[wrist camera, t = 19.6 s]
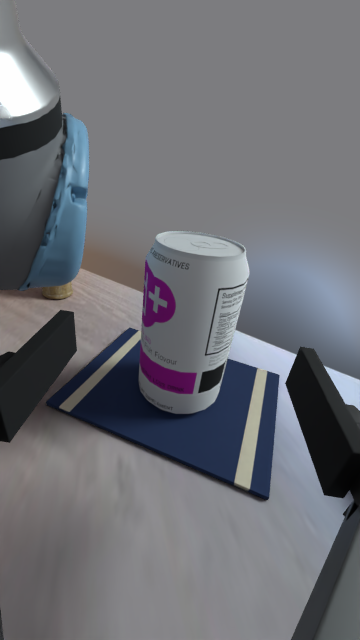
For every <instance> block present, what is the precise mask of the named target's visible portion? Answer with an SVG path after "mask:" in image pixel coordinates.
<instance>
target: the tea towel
mask: <svg viewBox="0 0 360 640" xmlns="http://www.w3.org/2000/svg"><path fill="white" fill-rule="evenodd" d="M140 347H141V331H138V330H135V329H132V328H129V329H128V330H126V331H125V332H124V333H123V334H122V335H121V336H120V337H119V338H117V339H116V340H115V341H114V342H113V343H112V344H111V345H110V346H108V347H107V348H106V349H105V350H104V351H103V352H102V353H101V354H99V355H98V356H97V357H96V358H95V359H94V360H93V361H92V362H90V363H89V364H88V365H87V366H86V367H85V368H84V369H83V370H81V371H80V372H79V373H78V374H77V375H76V376H75V377H73V378H72V379H71V380H70V381H69V382H68V383H67V384H66V385H64V386H63V387H62V388H61V389H60V390H59V391H58V392H57V393H55V394H54V395H53V396H52V397H51V398H50V399H49V400H48V401H46V404H47V405H48V406H51V407H53V408H55V409H58V410H60V411H62V412H65V413H67V414H69V415H71V416H74V417H76V418H78V419H81V420H83V421H85V422H88V423H90V424H92V425H95V426H97V427H99V428H102V429H104V430H106V431H108V432H111V433H113V434H115V435H118V436H120V437H122V438H125V439H127V440H129V441H132V442H134V443H136V444H138V445H141V446H143V447H145V448H148V449H150V450H152V451H155V452H157V453H159V454H162V455H164V456H166V457H168V458H171V459H173V460H175V461H178V462H180V463H182V464H185V465H187V466H189V467H192V468H194V469H196V470H199V471H201V472H203V473H205V474H208V475H210V476H212V477H215V478H217V479H219V480H222V481H224V482H226V483H229V484H231V485H233V486H235V487H238V488H240V489H242V490H245V491H247V492H249V493H252V494H254V495H256V496H259V497H261V498H263V499H265V500H268V499H269V492H270V480H271V468H272V457H273V445H274V433H275V421H276V409H277V397H278V385H279V375H278V374H275V373H272V372H268V371H266V370H262V369H259V368H256V367H253V366H249V365H246V364H243V363H240V362H237V361H233V360H230V359H227V363H226V367H225V371H224V375H223V379H222V382H221V386H220V390H219V393H218V396H217V398H216V400H215V402H214V403H212V404H211V405H210V406H209V407H207V408H206V409H205V410H201V411H198V412H195V413H191V414H175V413H171V412H168V411H164V410H162V409H159V408H158V407H156V406H155V405H153V404H152V403H150V402H149V401H148V400H147V399H146V398H145V396H144V395H143V394H142V392H141V391H140V386H139V381H138V380H139V364H140Z"/></svg>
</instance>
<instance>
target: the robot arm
mask: <svg viewBox="0 0 360 640" xmlns="http://www.w3.org/2000/svg"><path fill="white" fill-rule="evenodd" d="M88 180H89V141H88V134H87V129H86V127H85V125H84V124H83V123H82V121H80V120H78V119H75V118H74V117H73V116H72V115H71V114H68V113H63V115H62V113H61V101H60V89H59V83H58V80H57V78H56V76H55V74H54V72H53V71H52V70H51V69H50V67H49V66H48V65H47V64H46V63H45V61H44V60H43V59H42V58H41V57H40V55H39V54H38V53H37V52H36V50H35V49H34V48H33V47H32V46H31V45H30V43H29V42H28V41H27V40H26V38H25V37H24V36H23V34H22V31H21V28H20V26H19V20H18V14H17V8H16V2H15V0H0V290H19V291H24V290H27V289H29V288H37V287H51V286H61V285H65V284H67V283H69V282H71V281H72V280H73V279H74V278H75V277H76V275H77V274H78V272H79V269H80V265H81V261H82V256H83V248H84V241H85V231H86V220H87V202H86V197H87V192H88V188H87V187H88ZM76 351H77V347H76V335H75V323H74V312H70V311H64V310H60V311H59V312H58V313H57V314H56V315H55V316H54V317H53V318H52V319H51V320H50V321H49V322H48V323H47V324H45V325H44V326H43V327H42V328H41V329H40V330H39V331H38V332H37V333H36V334H35V335H34V336H33V337H32V338H31V339H30V340H29V341H28V342H27V343H25V344H24V345H23V346H22V347H21V348H20V349H19V350H18V351H17V352H16V353H14V352H7V353H5V354H3V355H1V356H0V441H3V442H9V443H10V441H11V440H12V438H13V437H14V436H15V434H16V433H17V432H18V430H19V429H20V427H21V426H22V425H23V423H24V422H25V421H26V419H27V418H28V417H29V415H30V414H31V412H32V411H33V410H34V408H35V407H36V406H37V404H38V403H39V401H40V400H41V399H42V397H43V396H44V395H45V393H46V392H47V391H48V389H49V388H50V386H51V385H52V384H53V382H54V381H55V380H56V378H57V377H58V375H59V374H60V373H61V371H62V370H63V369H64V367H65V366H66V365H67V363H68V362H69V360H70V359H71V358H72V356H73V355H74V354H75V352H76ZM285 384H286V387H287V389H288V392H289V395H290V398H291V401H292V404H293V407H294V410H295V412H296V415H297V418H298V421H299V424H300V427H301V430H302V433H303V435H304V438H305V441H306V444H307V447H308V450H309V453H310V456H311V458H312V461H313V464H314V467H315V470H316V473H317V476H318V479H319V482H320V484H321V487H322V490H323V493H324V495H326V496H332V497H338V498H344V497H345V495H346V494H347V493H348V491H349V490H350V492H351V494H352V496H353V499H354V501H353V502H352V503H351V504H350V506H349V507H348V508H347V509H346V511H345V512H344V513H343V515H344V516H345V518H344V520H343V523H342V525H341V527H340V530H339V532H338V534H337V536H336V539H335V541H334V543H333V545H332V548H331V550H330V552H329V554H328V557H327V559H326V561H325V564H324V566H323V568H322V570H321V573H320V575H319V577H318V579H317V582H316V584H315V586H314V589H313V591H312V593H311V595H310V598H309V600H308V602H307V604H306V607H305V609H304V611H303V614H302V616H301V618H300V620H299V623H298V625H297V627H296V629H295V632H294V634H293V636H292V639H291V640H360V411H359V410H358V409H357V408H356V407H355V406H353V405H347V404H345V403H344V401H343V399H342V397H341V396H340V394H339V392H338V390H337V389H336V387H335V385H334V383H333V382H332V380H331V378H330V376H329V375H328V373H327V371H326V369H325V368H324V366H323V364H322V362H321V361H320V359H319V357H318V355H317V354H316V352H315V350H314V349H311V348H305V347H300V349H299V351H298V354H297V356H296V359H295V361H294V364H293V366H292V368H291V371H290V373H289V376H288V378H287V381H286V383H285ZM0 640H4V636H3V630H2V620H1V610H0Z"/></svg>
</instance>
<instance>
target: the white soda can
mask: <svg viewBox="0 0 360 640" xmlns="http://www.w3.org/2000/svg"><path fill="white" fill-rule="evenodd" d="M249 273H250V270H249V266H248V262H247V258H246V249H245V247H244V246H243V245H241V244H239V243H238V242H235V241H233V240H230V239H227V238H223V237H220V236H216V235H210V234H205V233H198V232H188V231H173V232H164V233H161V234H158V235H157V236H156V238H155V243H154V245H153V246H152V248H151V249H150V251H149V253H148V254H147V256H146V262H145V279H144V296H143V313H142V330H141V347H140V364H139V380H138V381H139V386H140V391H141V392H142V394H143V395H144V396H145V398H146V399H147V400H148V401H149V402H150V403H152V404H153V405H155V406H156V407H158V408H159V409H162V410H164V411H168V412H171V413H175V414H191V413H195V412H198V411H201V410H205V409H206V408H207V407H209V406H210V405H211V404H212V403H214V402H215V400H216V398H217V396H218V393H219V390H220V386H221V382H222V379H223V375H224V371H225V367H226V363H227V359H228V355H229V351H230V347H231V343H232V340H233V336H234V332H235V328H236V324H237V320H238V316H239V312H240V308H241V304H242V301H243V296H244V293H245V289H246V285H247V281H248V277H249Z"/></svg>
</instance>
